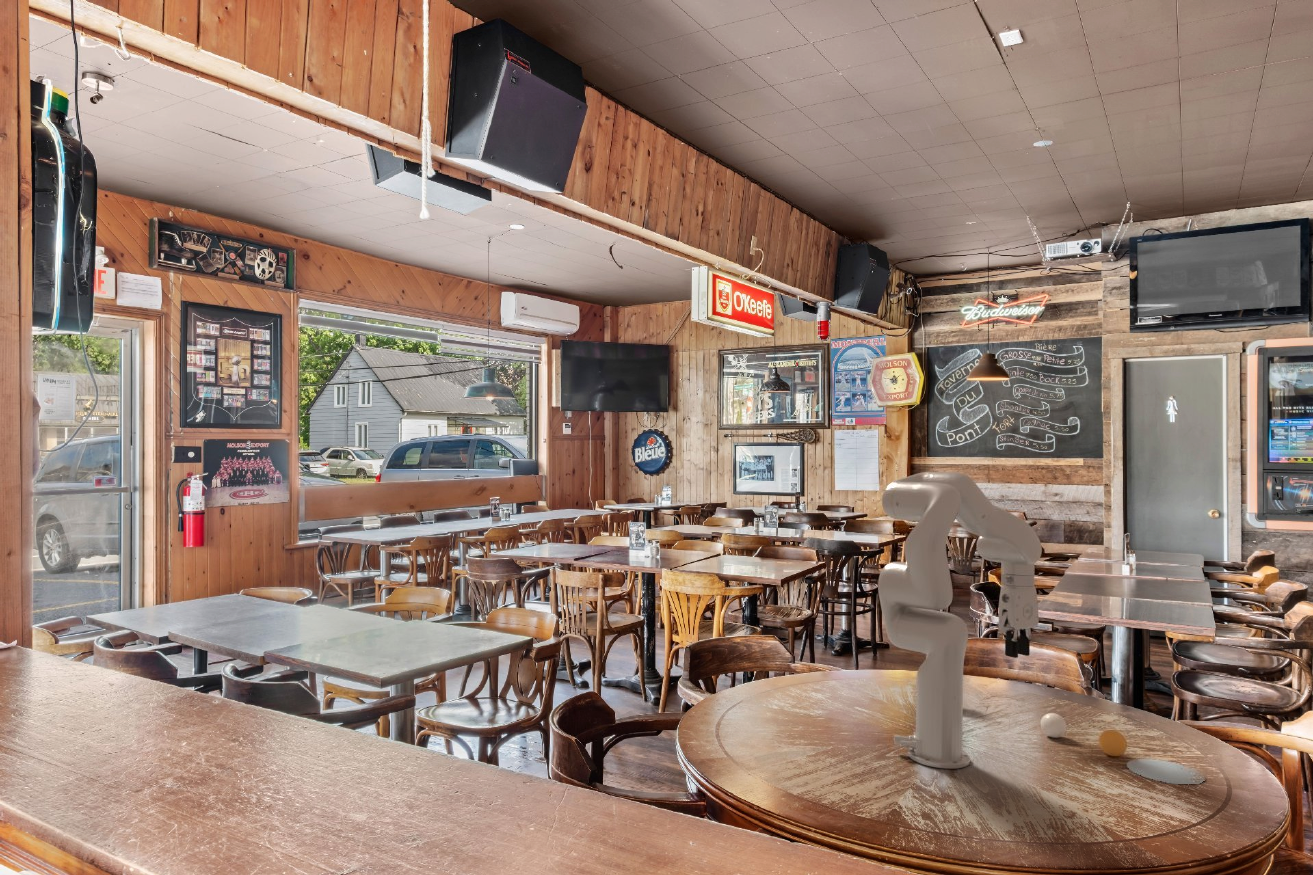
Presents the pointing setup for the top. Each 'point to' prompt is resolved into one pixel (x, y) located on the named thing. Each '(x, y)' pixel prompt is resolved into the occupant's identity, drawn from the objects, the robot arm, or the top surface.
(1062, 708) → the top surface
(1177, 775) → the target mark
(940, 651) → the robot arm
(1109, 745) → the orange ball
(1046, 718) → the cue ball
